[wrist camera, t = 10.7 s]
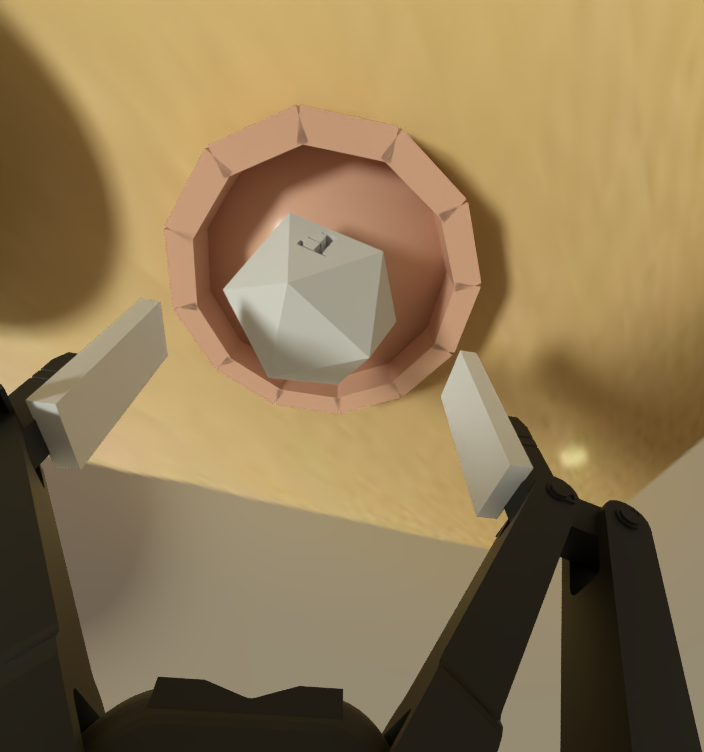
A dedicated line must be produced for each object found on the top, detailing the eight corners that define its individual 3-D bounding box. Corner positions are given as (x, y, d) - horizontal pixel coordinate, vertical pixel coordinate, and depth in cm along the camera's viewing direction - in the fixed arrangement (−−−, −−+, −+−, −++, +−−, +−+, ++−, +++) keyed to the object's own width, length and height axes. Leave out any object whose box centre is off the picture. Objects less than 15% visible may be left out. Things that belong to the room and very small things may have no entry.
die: (417, 286, 25) (424, 222, 15) (361, 405, 25) (331, 420, 15) (307, 239, 26) (246, 152, 16) (255, 354, 27) (164, 336, 17)
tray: (177, 76, 19) (146, 70, 16) (509, 150, 21) (533, 156, 18) (198, 364, 29) (181, 391, 26) (418, 397, 31) (424, 426, 28)
